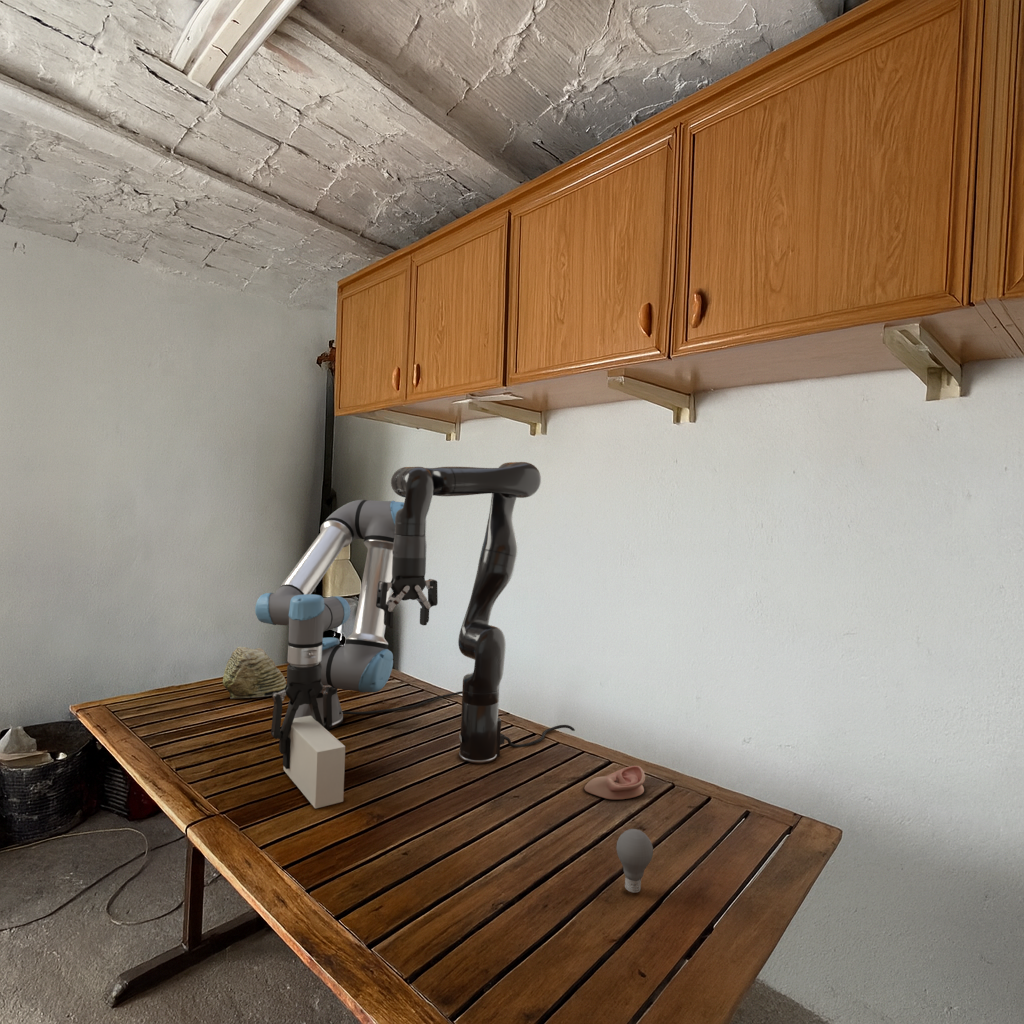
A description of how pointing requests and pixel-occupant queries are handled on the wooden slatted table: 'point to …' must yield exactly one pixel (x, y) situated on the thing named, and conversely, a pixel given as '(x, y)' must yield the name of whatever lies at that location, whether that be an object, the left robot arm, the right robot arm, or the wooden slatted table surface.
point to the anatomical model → (618, 784)
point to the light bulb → (634, 857)
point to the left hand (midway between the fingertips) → (300, 763)
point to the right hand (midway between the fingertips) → (406, 626)
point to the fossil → (252, 674)
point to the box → (316, 762)
